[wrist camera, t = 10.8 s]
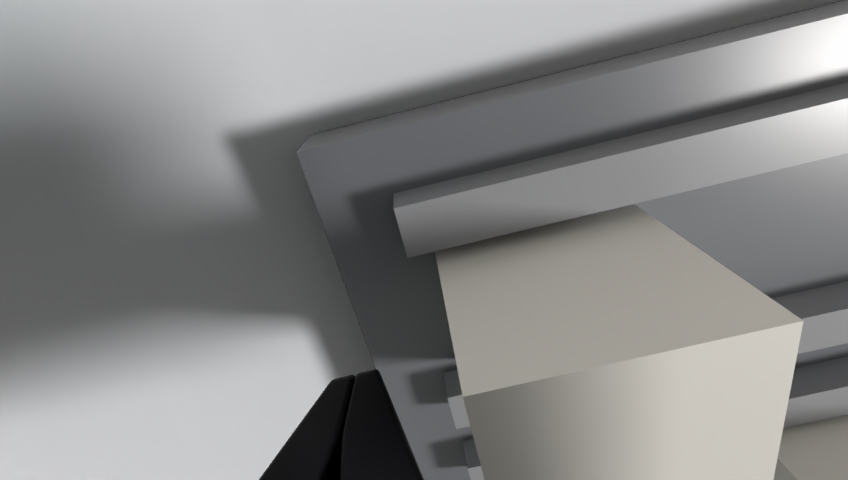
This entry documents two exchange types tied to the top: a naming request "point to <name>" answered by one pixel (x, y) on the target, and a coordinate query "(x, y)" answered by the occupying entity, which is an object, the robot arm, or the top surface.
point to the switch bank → (603, 196)
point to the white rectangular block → (616, 354)
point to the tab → (814, 451)
